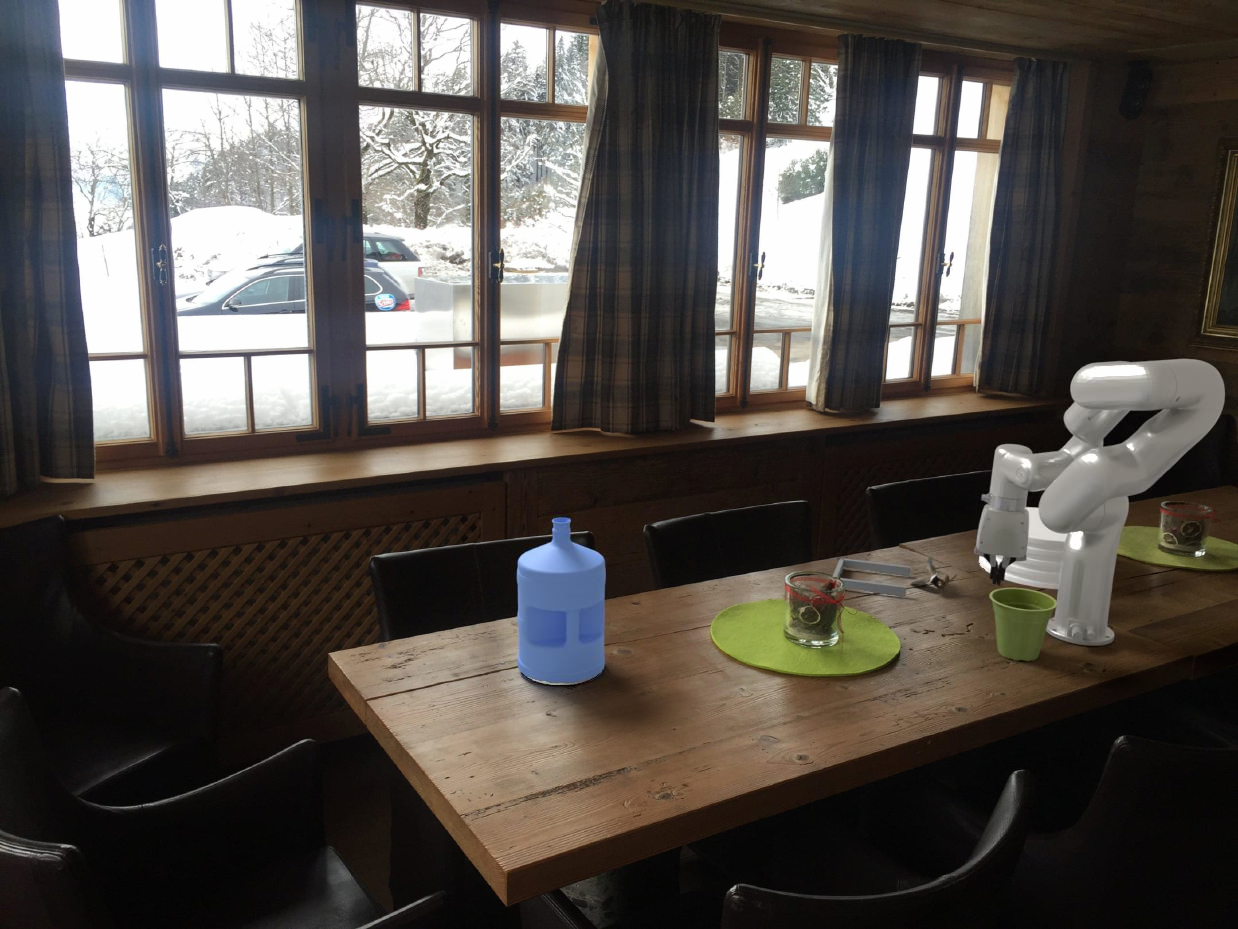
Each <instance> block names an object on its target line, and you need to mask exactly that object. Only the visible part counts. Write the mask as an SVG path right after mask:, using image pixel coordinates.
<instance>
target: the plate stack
mask: <svg viewBox="0 0 1238 929" xmlns="http://www.w3.org/2000/svg"><path fill="white" fill-rule="evenodd" d="M1025 509H1027V510H1028V512H1029V536H1028V546H1027V552H1026V557H1027V559H1026V561H1015V562H1014V563H1012V564H1011V565H1009V566H1008V567H1007V568H1006V571H1005V578H1004V581H1008V582H1012V583H1015V584H1019V585H1024V586H1027V587H1028V586H1029V587H1034V588H1041V589H1051V590H1058V587H1059V579H1060V570H1061V562H1062V554H1063V547H1064V543H1065V540H1066V537H1067V534H1061V533H1056V532H1053V531H1051V530H1050V529H1048V528H1047V527H1046V526H1045V525H1044V524H1043V523H1042V521H1041V519H1040V516H1039V507H1031V506H1030V507H1029V506H1026V508H1025ZM978 557H979V559H978V563H980V564H979V566H980V567H981V568H982V569H983V568H984V569H985V571H986V572H987V573H989V574H990V570H991V565H990V563H989V562H988V561H987V560H986V559H985V558H984V557H981V556H978ZM1002 559H1003V556H1000V555H996V561H997V562H998V566H999V564H1000V562H1001V561H1002ZM984 569H983V570H984Z"/></svg>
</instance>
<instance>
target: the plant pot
mask: <svg viewBox="0 0 1238 929" xmlns="http://www.w3.org/2000/svg"><path fill="white" fill-rule="evenodd" d="M989 599H990V600H991V602H992V611H993V612H994V620H995V622H994V623H995V634H996V635H995V636H996V647H997V648H996V649H997V651H998V653H999V655H1001V657H1004V658H1006V657H1007V658H1006V659H1009V658H1011V659H1013V660H1012V661H1020V660H1021V661H1025V662H1030V661H1031V660H1032V661H1035V660H1037V659H1038V657H1039V656H1040V653H1041V648H1042V646H1043V641H1044V638H1045V635H1046V632H1047V631H1046V628H1047V625H1048V622H1049V619H1051V618H1052V615H1053V612H1054V610H1056V607H1057V605H1058V603H1057V599H1055V598H1054V597H1052V596H1051V595H1049V594H1047V593H1044V592H1041V591H1038V590H1034V589H1029V588H1020V587H1004V588H998V589H994V590H992V591H991V592H990V593H989ZM1011 659H1010V660H1011ZM1032 661H1031V662H1032Z"/></svg>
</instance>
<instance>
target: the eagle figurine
mask: <svg viewBox="0 0 1238 929" xmlns="http://www.w3.org/2000/svg"><path fill="white" fill-rule="evenodd" d="M927 572H928V574H929V576H928V577H926V576H925V577H918V578H916V579H915V580H914V581H911V582H912V583H911V582H910V583H911V584H910V585H916V584H917V585H919V586H925V585H926V584H927V583H928V584H927V585H930V584H932V585H933V586H935V588H937V589H939V594H942V595H943V591H944V590H945V588H946V587H947V585H948V584H949V583H950V582H952V581H953V580H954V579H955V578H956V577H957V575H958V573H955V574H954V575H953V576H951V577H950V576H949V575H948V573H946V574H945V577H944V579H943V578H940V577H939V576H937V575H938V572H937V570H936V567H935V565H934V564H933V557H930V556H929V557H928V559H927ZM939 583H941V584H939Z"/></svg>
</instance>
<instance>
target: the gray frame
mask: <svg viewBox="0 0 1238 929" xmlns="http://www.w3.org/2000/svg"><path fill="white" fill-rule="evenodd" d="M843 567H846V568H854V569H860V570H870V571H875V572H879V573H887V574H895V575H902V576H906V577H911V567H912V566H911V565H910V566H908V565H901V564H893V563H884V562H876V561H869V560H868V561H867V560H858V559H849V558H843V557H840V558H839V560H838V562H837V565H836V567H835V569H834V570H833V574H832V577H837V578H839V575H840V574H841V572H842V570H843ZM843 571H844V570H843ZM842 573H843V572H842ZM841 575H842V574H841ZM832 577H831V578H832ZM840 579H841V580H842V581H843V582H844V583H845V585H846V590H847V588H849V589H858V590H864V591H869V592H873V593H881V594H887V595H895V596H899V597H905V596H906V595H907V585H900V584H890V583H883V582H873V581H867V580H858V579H853V578H852V579H850V578H843V577H840ZM905 598H906V597H905Z"/></svg>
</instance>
